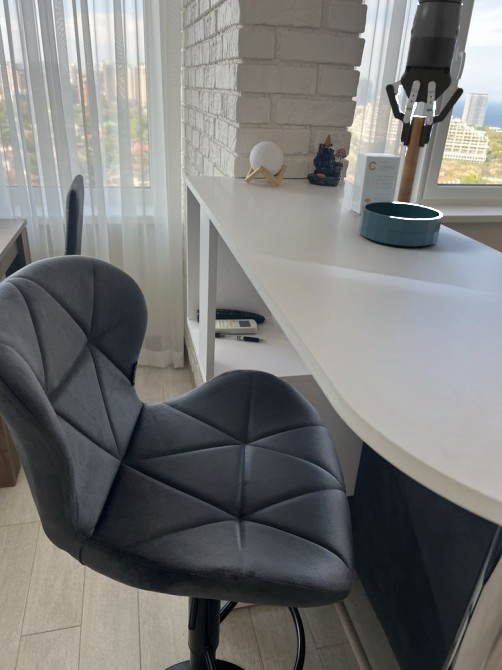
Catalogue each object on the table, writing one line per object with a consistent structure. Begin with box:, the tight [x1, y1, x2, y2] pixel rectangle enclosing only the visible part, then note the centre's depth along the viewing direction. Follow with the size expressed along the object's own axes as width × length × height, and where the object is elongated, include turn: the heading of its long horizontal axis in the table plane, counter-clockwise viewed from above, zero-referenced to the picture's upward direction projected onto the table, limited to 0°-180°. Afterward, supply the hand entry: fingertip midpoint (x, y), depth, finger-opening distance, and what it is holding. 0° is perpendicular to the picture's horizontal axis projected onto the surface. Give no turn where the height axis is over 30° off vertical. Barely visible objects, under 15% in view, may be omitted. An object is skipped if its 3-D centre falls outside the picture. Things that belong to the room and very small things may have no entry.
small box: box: [350, 152, 401, 215], centre depth 117 cm, size 8×6×13 cm
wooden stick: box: [396, 115, 426, 204], centre depth 93 cm, size 2×2×15 cm
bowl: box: [358, 201, 444, 248], centre depth 99 cm, size 15×15×6 cm
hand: (413, 145), depth 92 cm, fingers closed on wooden stick, 2 cm apart
